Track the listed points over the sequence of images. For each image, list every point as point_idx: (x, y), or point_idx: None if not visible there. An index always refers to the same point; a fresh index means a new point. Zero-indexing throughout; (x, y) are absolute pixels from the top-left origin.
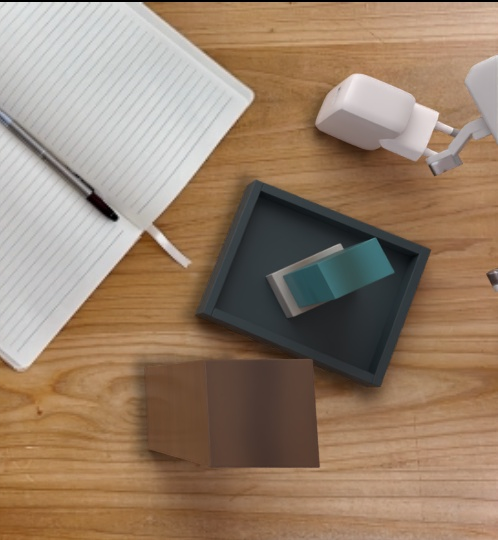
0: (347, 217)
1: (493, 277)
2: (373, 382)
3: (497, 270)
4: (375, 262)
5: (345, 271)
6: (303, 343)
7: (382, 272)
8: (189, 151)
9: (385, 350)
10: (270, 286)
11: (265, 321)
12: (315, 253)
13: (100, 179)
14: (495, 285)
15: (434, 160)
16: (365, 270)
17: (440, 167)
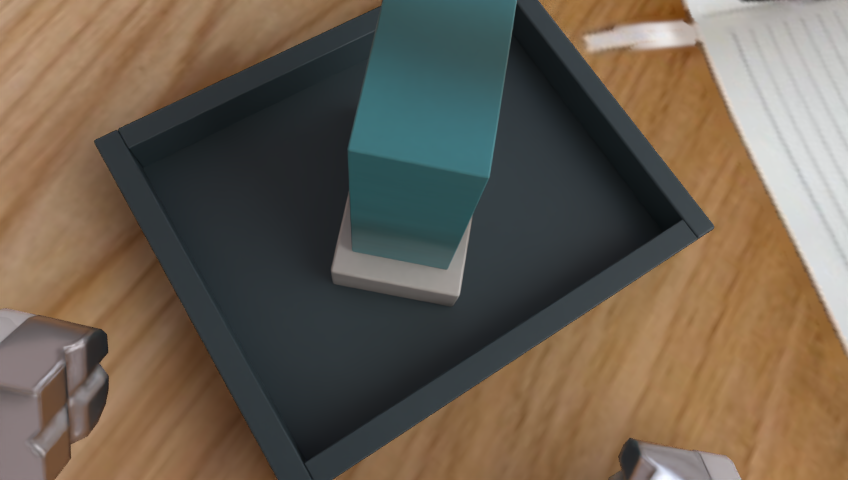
0: (509, 356)
1: (66, 329)
2: (115, 135)
3: (78, 376)
4: (416, 121)
5: (448, 30)
6: (300, 103)
7: (373, 118)
8: (811, 195)
9: (156, 208)
10: None
11: None
12: None
13: (829, 20)
14: (31, 315)
15: (713, 470)
16: (413, 81)
17: (672, 467)
